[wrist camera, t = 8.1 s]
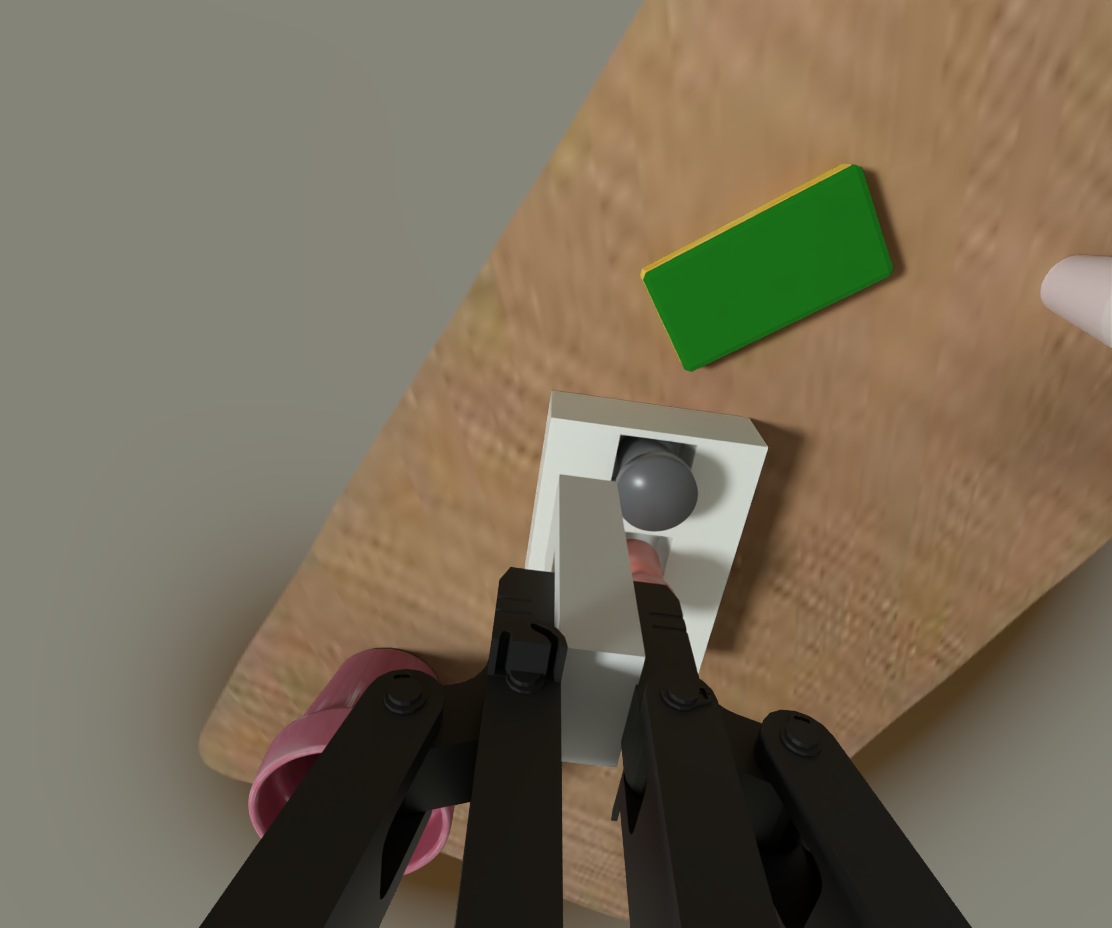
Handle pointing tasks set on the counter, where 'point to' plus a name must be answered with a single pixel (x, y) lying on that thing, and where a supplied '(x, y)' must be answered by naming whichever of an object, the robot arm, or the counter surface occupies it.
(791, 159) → the counter surface
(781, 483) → the counter surface
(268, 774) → the plant pot
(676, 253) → the dish sponge
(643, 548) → the pink round knob
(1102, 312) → the smoothie
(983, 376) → the counter surface
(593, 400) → the mount
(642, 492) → the knob
